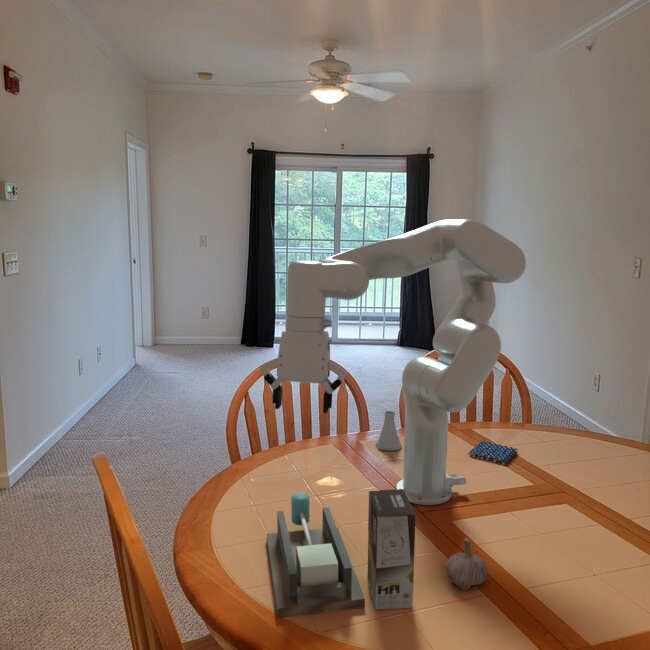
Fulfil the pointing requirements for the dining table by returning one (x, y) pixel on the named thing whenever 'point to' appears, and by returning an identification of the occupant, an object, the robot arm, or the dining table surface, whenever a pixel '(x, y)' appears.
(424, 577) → the dining table surface
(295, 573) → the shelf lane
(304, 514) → the cube with teal knob
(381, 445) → the flask
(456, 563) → the garlic bulb
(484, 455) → the woven mat
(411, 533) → the coffee box
